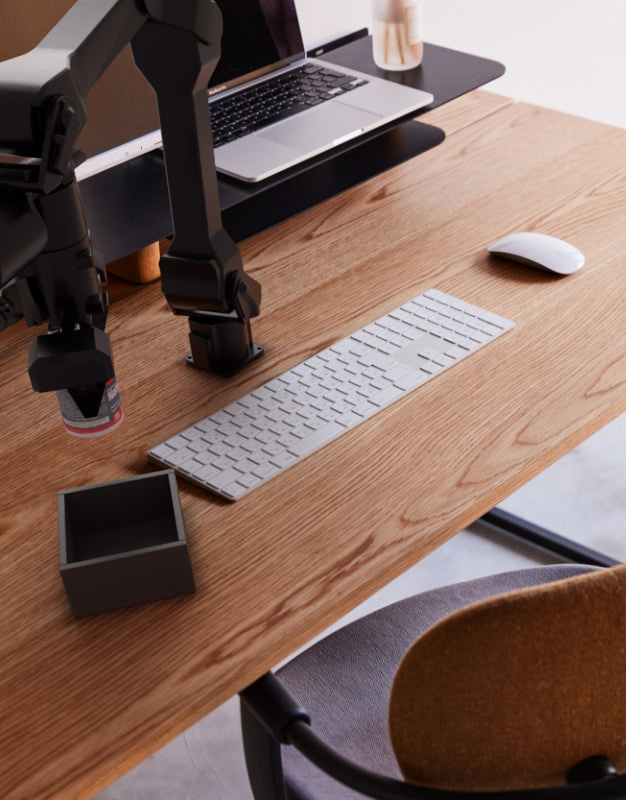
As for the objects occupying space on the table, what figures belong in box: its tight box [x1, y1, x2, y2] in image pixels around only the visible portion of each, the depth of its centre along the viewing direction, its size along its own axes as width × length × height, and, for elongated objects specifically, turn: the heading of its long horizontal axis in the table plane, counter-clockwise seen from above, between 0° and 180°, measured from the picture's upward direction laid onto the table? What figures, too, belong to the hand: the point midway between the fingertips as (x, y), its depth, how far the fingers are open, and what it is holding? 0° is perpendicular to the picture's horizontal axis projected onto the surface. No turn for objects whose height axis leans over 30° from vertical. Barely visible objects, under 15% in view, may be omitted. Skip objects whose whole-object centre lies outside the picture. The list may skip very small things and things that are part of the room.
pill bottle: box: [55, 324, 125, 439], centre depth 92 cm, size 5×5×9 cm
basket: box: [56, 468, 197, 620], centre depth 92 cm, size 10×10×6 cm
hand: (90, 398), depth 93 cm, fingers closed on pill bottle, 5 cm apart
